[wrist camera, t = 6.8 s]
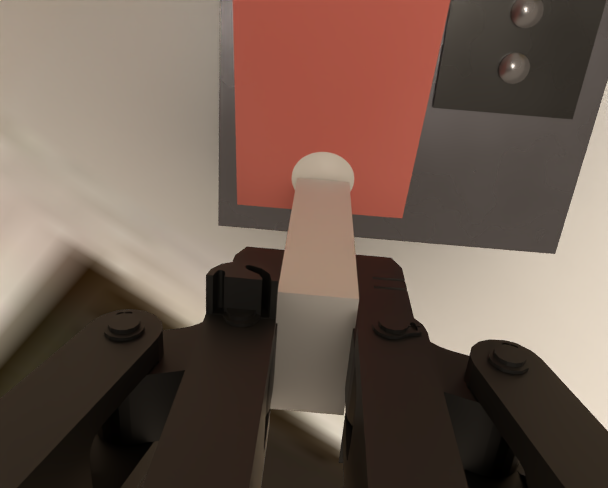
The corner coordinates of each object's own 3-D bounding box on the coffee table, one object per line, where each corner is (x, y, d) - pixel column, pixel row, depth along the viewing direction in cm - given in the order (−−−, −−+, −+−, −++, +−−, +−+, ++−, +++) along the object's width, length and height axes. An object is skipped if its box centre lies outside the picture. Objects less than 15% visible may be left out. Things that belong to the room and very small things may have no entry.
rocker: (242, -225, 12) (227, -221, 11) (476, -207, 12) (495, -200, 11) (246, 167, 19) (237, 205, 17) (397, 180, 19) (402, 219, 17)
